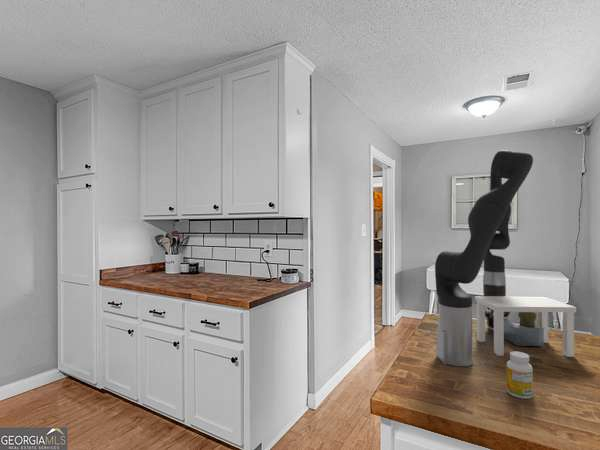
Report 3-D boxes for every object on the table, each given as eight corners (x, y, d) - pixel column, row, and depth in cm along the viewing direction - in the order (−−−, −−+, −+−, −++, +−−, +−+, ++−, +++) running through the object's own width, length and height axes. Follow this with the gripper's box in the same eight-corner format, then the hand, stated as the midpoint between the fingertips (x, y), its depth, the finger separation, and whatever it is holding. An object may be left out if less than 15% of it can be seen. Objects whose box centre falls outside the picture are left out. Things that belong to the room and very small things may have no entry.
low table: (496, 356, 104) (496, 306, 104) (475, 339, 119) (475, 296, 119) (576, 357, 103) (576, 307, 103) (545, 340, 117) (544, 296, 117)
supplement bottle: (508, 385, 86) (508, 348, 86) (533, 392, 82) (533, 353, 82) (505, 394, 82) (504, 355, 81) (531, 401, 78) (531, 360, 78)
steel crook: (516, 345, 112) (516, 327, 112) (487, 327, 132) (487, 312, 132) (543, 346, 111) (543, 328, 111) (510, 328, 131) (510, 312, 131)
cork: (541, 345, 113) (541, 313, 113) (521, 343, 114) (521, 312, 114) (533, 339, 119) (533, 308, 119) (514, 337, 120) (514, 307, 120)
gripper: (480, 284, 126) (480, 330, 126) (518, 284, 125) (519, 330, 124) (471, 281, 133) (471, 324, 133) (507, 281, 132) (508, 325, 132)
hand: (494, 327), depth 129 cm, fingers closed on steel crook, 2 cm apart
